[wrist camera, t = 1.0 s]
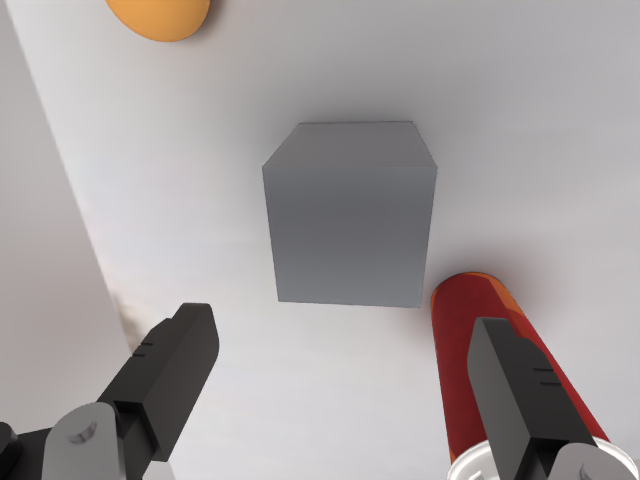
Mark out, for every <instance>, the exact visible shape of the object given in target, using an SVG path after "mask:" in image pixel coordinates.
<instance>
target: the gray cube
mask: <svg viewBox="0 0 640 480" xmlns="http://www.w3.org/2000/svg"><path fill="white" fill-rule="evenodd" d="M262 172H263V180H264V189H265V197H266V205H267V213H268V221H269V229H270V237H271V245H272V253H273V261H274V270H275V278H276V286H277V294H278V302H297V303H319V304H341V305H363V306H385V307H407V308H420V304H421V296H422V288H423V279H424V271H425V263H426V255H427V247H428V238H429V230H430V222H431V214H432V206H433V197H434V189H435V181H436V173H437V166H436V164H435V162H434V160H433V158H432V156H431V155H430V153H429V151H428V149H427V147H426V145H425V143H424V142H423V140H422V138H421V136H420V134H419V132H418V130H417V129H416V127H415V125H414V123H413V121H406V122H352V123H299V125H298V126H297V127H296V128H295V129H294V130H293V132H292V133H291V134H290V135H289V136H288V137H287V139H286V140H285V141H284V142H283V143H282V145H281V146H280V147H279V148H278V149H277V150H276V152H275V153H274V154H273V155H272V156H271V157H270V159H269V160H268V161H267V162H266V163H265V165H264V166H263V167H262Z"/></svg>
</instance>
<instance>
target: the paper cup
mask: <svg viewBox="0 0 640 480" xmlns="http://www.w3.org/2000/svg"><path fill="white" fill-rule="evenodd" d="M431 317H432V326H433V334H434V342H435V349H436V357H437V364H438V372H439V379H440V386H441V394H442V401H443V408H444V415H445V423H446V430H447V437H448V445H449V452H450V459H451V467H450V469H449V471H448V475H447V480H500V478H499V475H498V471H497V468H496V465H495V461H494V458H493V455H492V451H491V448H490V445H489V442H488V438H487V435H486V432H485V428H484V425H483V422H482V419H481V415H480V412H479V409H478V405H477V402H476V399H475V395H474V392H473V389H472V386H471V382H470V379H469V375H468V368H467V357H468V351H469V347H470V342H471V338H472V333H473V329H474V324H475V320H476V318H477V317H492V318H506V319H508V321H509V322H510V324H511V326H512V328H513V330H514V332H515V334H516V336H517V337H520V338H529V339H530V340H531V341H532V342H533V343H534V344H535V345H536V346H537V347H538V348H540V349H541V350H542V351H543V352H544V353H545V355H546V357H547V359H548V360H549V362H550V364H551V366H552V367H553V369H554V373H556V374H557V376H558V378H559V380H560V381H561V383H562V387H564V388H565V390H566V392H567V394H568V395H569V397H570V399H571V400H572V402H573V404H574V406H575V407H576V409H577V411H578V413H579V414H580V416H581V418H582V420H583V421H584V423H585V425H586V427H587V428H588V430H589V432H590V434H591V435H592V437H593V439H594V441H595V442H596V444H597V445H598V447H599V448H600V449H602V450H604V451H606V452H608V453H609V454H611V455H612V456H614V457H615V458H617V459H618V460H619V461H620V462H622V463H623V464H624V465H625V466H626V467H627V468H628V469H629V470H630V471H631V472H632V473H633V475H634V476H635V477H636V479H637V480H639V475H638V470H637V467H636V466H635V464H634V462H633V460H632V459H631V458H630V457H629V456H628V455H627V454H626V453H625V452H624V451H623V450H621V449H620V448H618V447H617V446H615V445H614V444H612V443H611V442H610V441H609V439H608V438H607V436H606V435H605V433H604V432H603V430H602V429H601V427H600V426H599V424H598V423H597V421H596V420H595V418H594V417H593V415H592V414H591V412H590V411H589V409H588V408H587V406H586V405H585V403H584V402H583V400H582V399H581V397H580V396H579V394H578V393H577V392H576V390H575V389H574V387H573V386H572V384H571V383H570V381H569V380H568V378H567V377H566V375H565V374H564V372H563V371H562V369H561V368H560V366H559V365H558V363H557V362H556V360H555V359H554V357H553V356H552V354H551V353H550V351H549V350H548V348H547V347H546V345H545V344H544V343H543V341H542V340H541V338H540V337H539V335H538V334H537V332H536V331H535V329H534V328H533V326H532V325H531V323H530V322H529V320H528V319H527V317H526V316H525V315H524V313H523V312H522V310H521V309H520V307H519V306H518V304H517V303H516V301H515V300H514V299H513V297H512V296H511V294H510V293H509V292H508V290H507V289H506V288H505V287H504V285H503V284H502V283H501V282H500V281H499V280H497V279H496V278H494V277H492V276H490V275H487V274H484V273H478V272H468V273H462V274H458V275H455V276H452V277H450V278H448V279H447V280H445V281H444V282H442V283H441V284H440V285H439V286H438V287H437V288H436V290H435V291H434V293H433V295H432V298H431Z"/></svg>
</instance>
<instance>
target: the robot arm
mask: <svg viewBox="0 0 640 480" xmlns="http://www.w3.org/2000/svg"><path fill="white" fill-rule="evenodd" d="M218 352H219V337H218V333H217V329H216V325H215V320H214V316H213V312H212V308H211V306H210V305H209V304H206V303H183V304H182V305H181V306H180V308H179V309H178V310H177V312H176V313H175V315H174V316H173V317H172V318H166V319H165V320H163V321H162V322H160V323H159V324H158V325H156V326H155V327H154V328H152V329H151V330H150V332H149V333H148V334H147V336H146V337H145V338H144V340H143V341H142V342H141V345H140V346H138V347H137V349H136V350H135V351H134V353H133V355H132V357H130V358H129V359H128V361H127V362H126V363H125V364H124V366H123V367H122V368H121V370H120V371H119V372H118V374H117V375H116V376H115V377H114V379H113V380H112V382H111V383H110V384H109V385H108V387H107V388H106V389H105V391H104V392H103V393H102V395H101V396H100V397H99V398H98V400H97V401H96V402H94V403H89V404H86V405H83V406H80V407H78V408H76V409H74V410H73V411H71V412H69V413H68V414H67V415H65V416H64V417H63V418H61V419H60V420H59V421H58V422H57V424H55V426H54V427H52V428H47V429H42V430H38V431H33V432H29V433H24V434H19V435H16V434H15V432H14V431H13V430H12V428H11V427H10V426H9V425H8V424H7V423H4V422H0V480H146V476H145V471H146V469H147V468H148V465H149V463H150V462H151V460H152V461H161V462H167V461H168V459H169V457H170V455H171V453H172V451H173V448H174V446H175V444H176V442H177V440H178V438H179V436H180V434H181V432H182V430H183V428H184V426H185V424H186V422H187V419H188V417H189V415H190V413H191V411H192V409H193V407H194V405H195V403H196V401H197V399H198V397H199V395H200V393H201V390H202V388H203V386H204V384H205V382H206V380H207V378H208V376H209V374H210V372H211V370H212V368H213V366H214V364H215V362H216V359H217V356H218ZM467 368H468V375H469V379H470V382H471V386H472V389H473V392H474V395H475V399H476V402H477V405H478V409H479V412H480V415H481V419H482V422H483V425H484V428H485V432H486V435H487V438H488V442H489V445H490V448H491V451H492V455H493V458H494V461H495V465H496V468H497V471H498V475H499V478H500V480H637V479H636V477H635V476H634V475H633V473H632V472H631V471H630V470H629V469H628V468H627V467H626V466H625V465H624V464H623V463H622V462H620V461H619V460H618V459H617V458H615V457H614V456H612V455H611V454H609V453H608V452H606V451H604V450H602V449H600V448H599V447H598V445H597V444H596V442H595V441H594V439H593V437H592V435H591V434H590V432H589V430H588V428H587V427H586V425H585V423H584V421H583V420H582V418H581V416H580V414H579V413H578V411H577V409H576V407H575V406H574V404H573V402H572V400H571V399H570V397H569V395H568V394H567V392H566V390H565V388H564V387H562V383H561V381H560V380H559V378H558V376H557V374H556V373H554V369H553V367H552V366H551V364H550V362H549V360H548V359H547V357H546V355H545V353H544V352H543V351H542V350H541V349H540V348H538V347H537V346H536V345H535V344H534V343H533V342H532V341H531V340H530V339H529V338H520V337H517V336H516V334H515V332H514V330H513V328H512V326H511V324H510V322H509V321H508V319H506V318H492V317H477V318H476V320H475V324H474V329H473V333H472V338H471V342H470V347H469V351H468V357H467Z"/></svg>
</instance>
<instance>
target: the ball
mask: <svg viewBox="0 0 640 480" xmlns="http://www.w3.org/2000/svg"><path fill="white" fill-rule="evenodd" d="M105 1H106V3H107V4H108V6H109V7H110V9H111V10H112V11H113V13H114V14H115V15H116V16H117V17H118V19H119V20H120V21H121V22H122V23H124V24H125V25H126V26H127V27H128V28H130V29H131V30H133V31H134V32H135V33H137V34H139V35H141V36H143V37H145V38H148V39H151V40H155V41H160V42H174V41H179V40H182V39H184V38H187V37H188V36H190V35H191V34H193V33H194V32H195V31H196V30H197V29H198V28H199V27H200V26H201V24H202V23H203V21H204V19H205V17H206V15H207V13H208V9H209V5H210V0H105Z"/></svg>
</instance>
